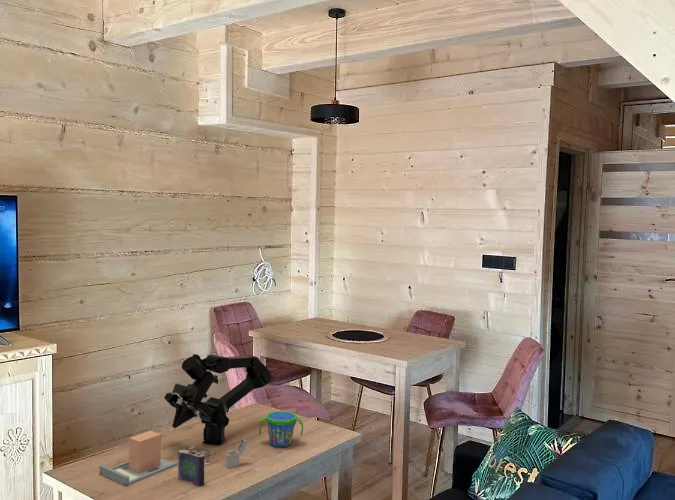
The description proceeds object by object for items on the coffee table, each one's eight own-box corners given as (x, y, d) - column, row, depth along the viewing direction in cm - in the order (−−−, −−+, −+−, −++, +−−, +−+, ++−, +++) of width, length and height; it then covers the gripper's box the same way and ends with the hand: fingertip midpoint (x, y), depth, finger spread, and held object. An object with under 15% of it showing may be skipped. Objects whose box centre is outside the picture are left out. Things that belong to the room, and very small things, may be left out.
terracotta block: (150, 461, 194) (150, 430, 193) (160, 465, 191) (161, 434, 190) (128, 469, 187) (129, 437, 186) (139, 473, 184) (139, 441, 184)
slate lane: (151, 456, 199) (151, 447, 199) (177, 466, 191) (177, 457, 191) (99, 475, 183) (99, 465, 183) (126, 487, 176) (126, 477, 176)
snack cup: (304, 439, 218) (305, 412, 217) (300, 451, 207) (301, 422, 207) (261, 437, 219) (262, 409, 218) (255, 448, 208) (256, 419, 208)
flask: (175, 480, 182) (176, 445, 181) (182, 476, 185) (183, 442, 184) (200, 487, 178) (201, 451, 177) (206, 483, 181) (207, 448, 180)
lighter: (227, 468, 191) (228, 444, 191) (225, 467, 192) (225, 442, 192) (247, 463, 196) (247, 439, 195) (244, 461, 197) (245, 437, 196)
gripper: (168, 368, 206) (141, 408, 198) (207, 379, 195) (179, 421, 187) (186, 386, 213) (160, 425, 205) (224, 397, 202) (198, 439, 194)
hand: (173, 427), depth 197 cm, fingers closed
